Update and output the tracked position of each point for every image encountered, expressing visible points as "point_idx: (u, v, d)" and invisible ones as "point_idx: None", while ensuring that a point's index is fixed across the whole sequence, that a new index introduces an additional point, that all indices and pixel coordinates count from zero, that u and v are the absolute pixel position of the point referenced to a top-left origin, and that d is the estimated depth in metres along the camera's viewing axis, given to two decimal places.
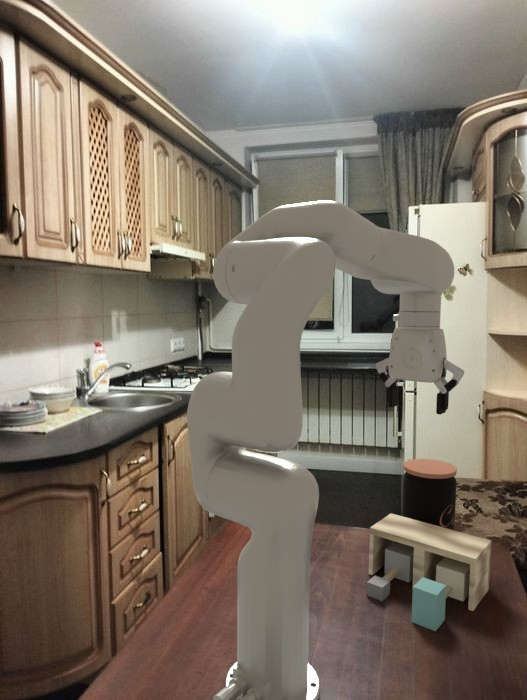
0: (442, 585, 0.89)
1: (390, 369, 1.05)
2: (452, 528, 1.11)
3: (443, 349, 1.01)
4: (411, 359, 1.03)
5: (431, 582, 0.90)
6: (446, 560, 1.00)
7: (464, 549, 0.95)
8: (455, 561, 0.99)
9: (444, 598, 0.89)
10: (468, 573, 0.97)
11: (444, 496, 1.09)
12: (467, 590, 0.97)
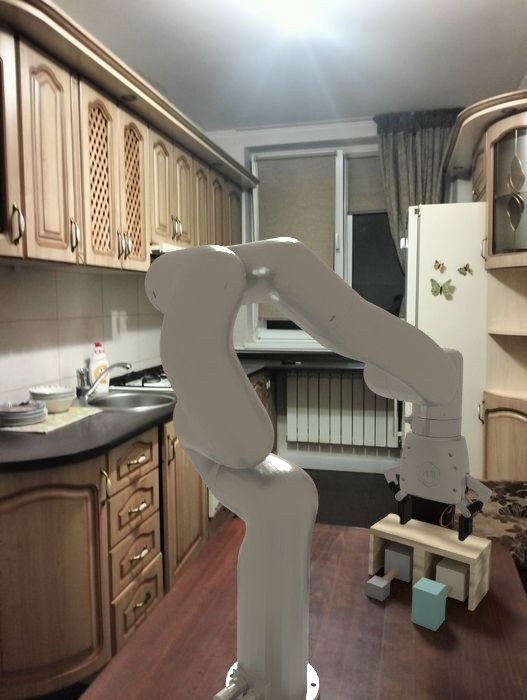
0: (442, 585, 0.89)
1: (401, 482, 0.88)
2: (452, 528, 1.11)
3: (466, 463, 0.84)
4: (427, 473, 0.85)
5: (431, 582, 0.90)
6: (446, 560, 1.00)
7: (464, 549, 0.95)
8: (455, 561, 0.99)
9: (444, 598, 0.89)
10: (468, 573, 0.97)
11: None
12: (467, 590, 0.97)
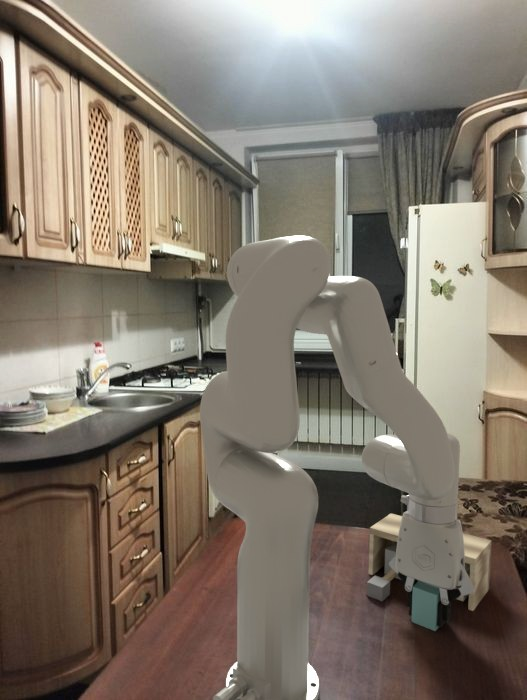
0: None
1: (397, 563, 0.89)
2: None
3: (461, 549, 0.85)
4: (422, 557, 0.86)
5: None
6: None
7: (464, 549, 0.95)
8: None
9: None
10: (468, 573, 0.97)
11: None
12: None
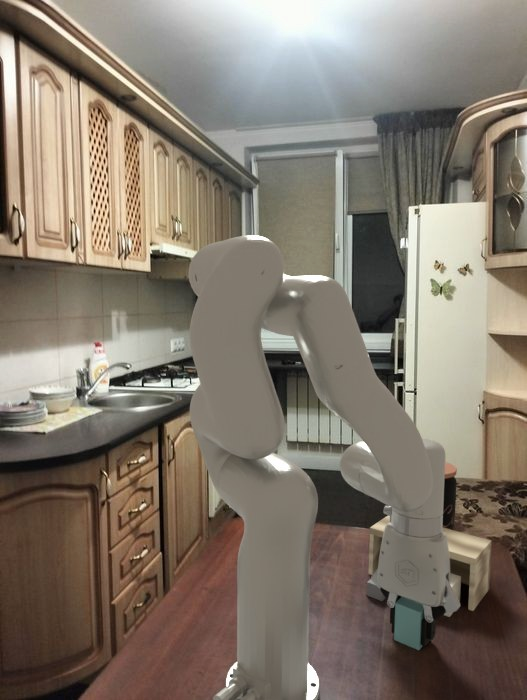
0: None
1: (379, 577, 0.84)
2: (452, 528, 1.11)
3: (446, 564, 0.80)
4: (405, 572, 0.81)
5: None
6: None
7: (464, 549, 0.95)
8: None
9: None
10: (455, 587, 0.92)
11: (444, 496, 1.09)
12: None
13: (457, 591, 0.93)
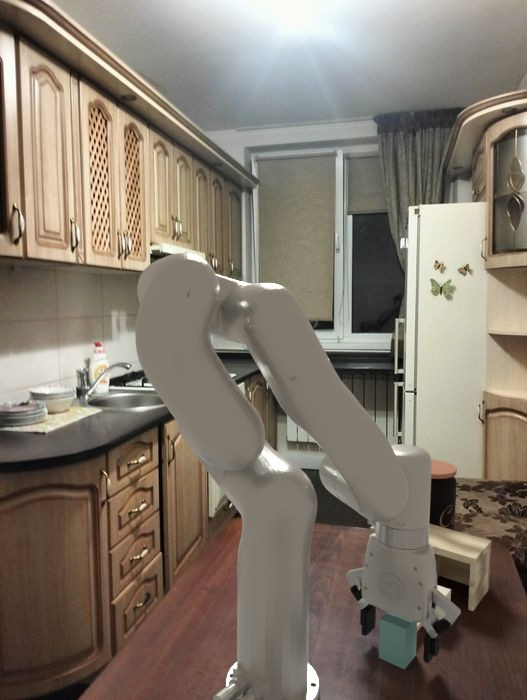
0: None
1: (363, 591, 0.80)
2: (452, 528, 1.11)
3: (432, 577, 0.76)
4: (390, 585, 0.77)
5: None
6: None
7: (464, 549, 0.95)
8: None
9: (415, 631, 0.80)
10: None
11: (444, 496, 1.09)
12: None
13: None
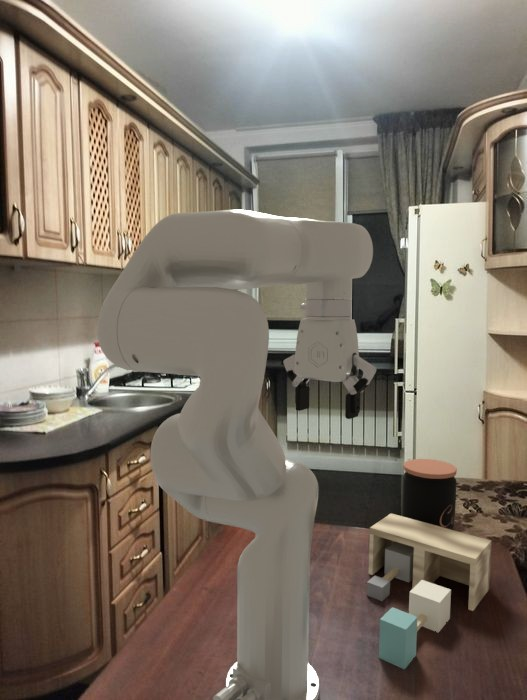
0: (413, 617, 0.80)
1: (296, 366, 0.91)
2: (452, 528, 1.11)
3: (353, 343, 0.87)
4: (317, 354, 0.88)
5: (401, 613, 0.81)
6: (421, 585, 0.91)
7: (464, 549, 0.95)
8: (430, 587, 0.90)
9: (415, 631, 0.80)
10: (444, 601, 0.88)
11: (444, 496, 1.09)
12: (443, 620, 0.88)
13: (447, 605, 0.89)
